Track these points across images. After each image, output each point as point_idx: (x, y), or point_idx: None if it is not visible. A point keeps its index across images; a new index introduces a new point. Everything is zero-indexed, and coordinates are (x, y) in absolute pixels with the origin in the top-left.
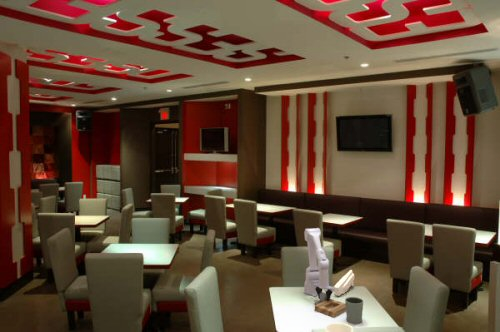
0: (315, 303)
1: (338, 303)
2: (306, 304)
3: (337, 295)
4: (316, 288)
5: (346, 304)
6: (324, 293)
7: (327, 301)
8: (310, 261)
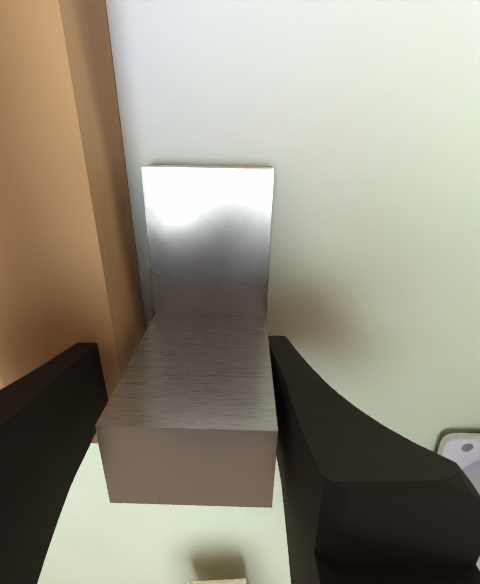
0: (255, 170)
1: None
2: (420, 65)
3: (213, 580)
4: (439, 539)
5: None
6: (160, 475)
7: (55, 321)
8: None
